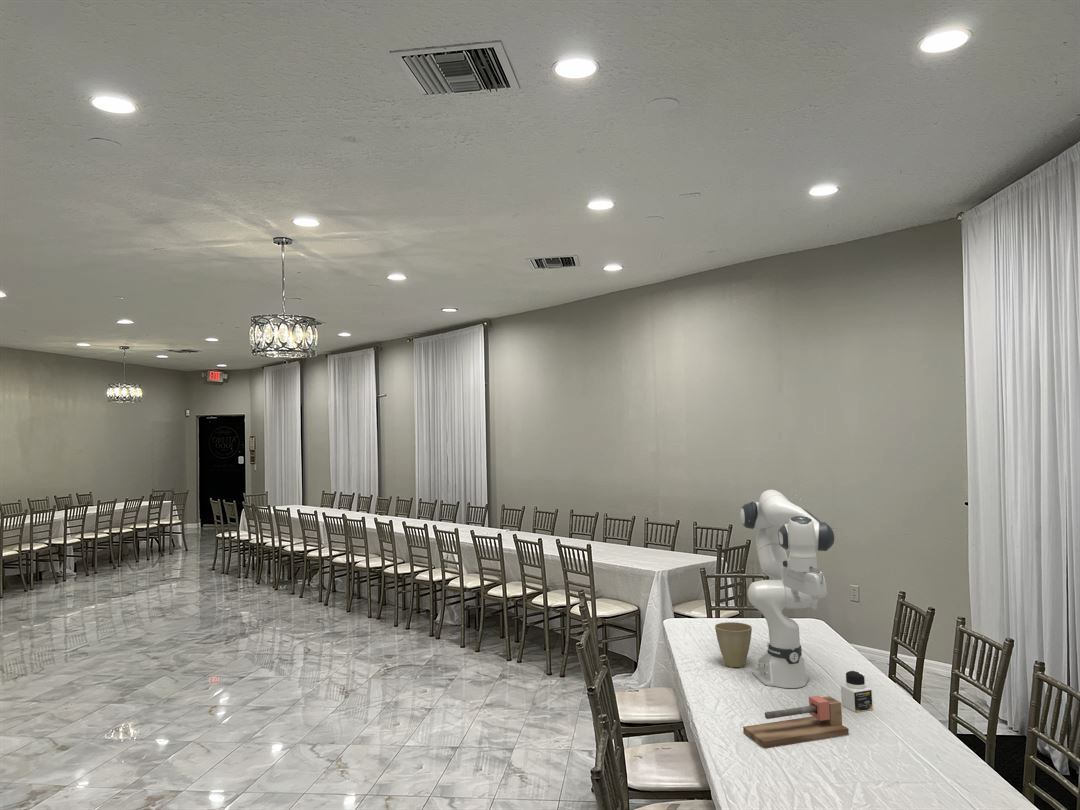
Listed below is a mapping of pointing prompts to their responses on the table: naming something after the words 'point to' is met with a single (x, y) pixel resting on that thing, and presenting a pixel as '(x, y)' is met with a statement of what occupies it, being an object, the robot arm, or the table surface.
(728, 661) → the plant pot
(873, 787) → the table surface
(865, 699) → the medicine bottle
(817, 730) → the rod stand
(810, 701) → the square nut
